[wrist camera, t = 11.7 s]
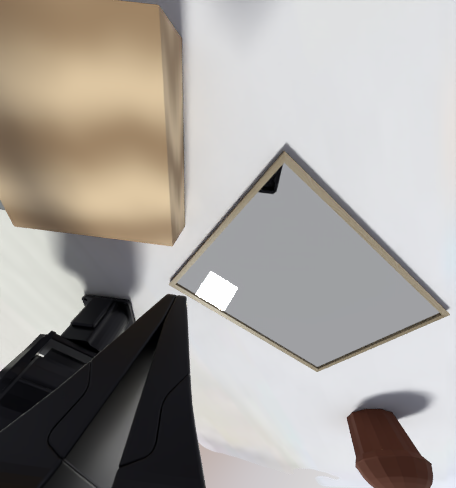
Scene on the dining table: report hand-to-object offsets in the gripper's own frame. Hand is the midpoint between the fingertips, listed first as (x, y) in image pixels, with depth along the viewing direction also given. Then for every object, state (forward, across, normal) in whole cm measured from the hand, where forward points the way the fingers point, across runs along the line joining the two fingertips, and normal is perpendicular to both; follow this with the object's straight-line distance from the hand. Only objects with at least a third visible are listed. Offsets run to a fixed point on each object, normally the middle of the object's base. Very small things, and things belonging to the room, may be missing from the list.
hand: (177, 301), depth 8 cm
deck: (+12, +10, -4) cm, 16 cm away
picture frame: (+13, -12, +10) cm, 20 cm away
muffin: (+12, -35, +41) cm, 55 cm away
